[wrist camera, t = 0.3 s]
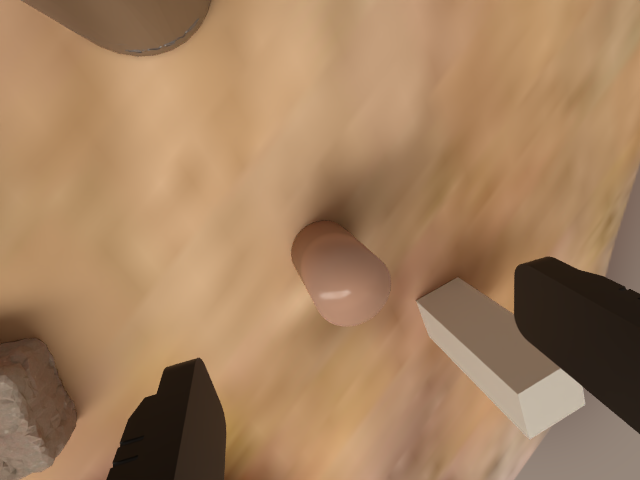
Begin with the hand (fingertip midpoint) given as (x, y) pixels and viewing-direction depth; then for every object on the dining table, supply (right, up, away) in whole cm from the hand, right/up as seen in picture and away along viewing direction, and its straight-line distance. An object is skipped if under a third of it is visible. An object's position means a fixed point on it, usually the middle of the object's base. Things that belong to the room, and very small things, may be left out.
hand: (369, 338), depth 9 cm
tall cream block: (+10, -4, +25) cm, 27 cm away
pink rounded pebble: (-1, +2, +20) cm, 20 cm away
